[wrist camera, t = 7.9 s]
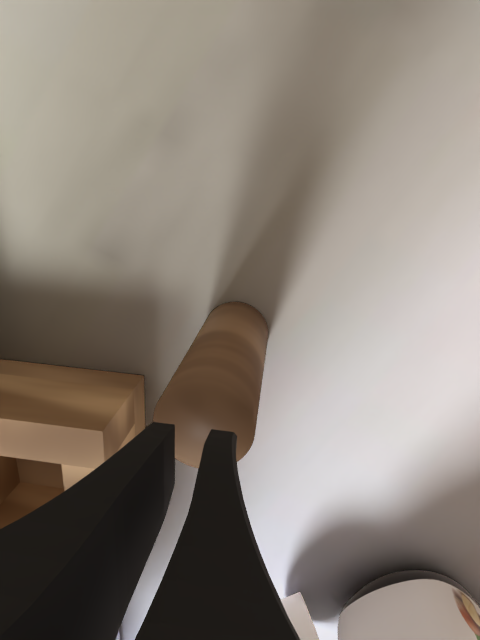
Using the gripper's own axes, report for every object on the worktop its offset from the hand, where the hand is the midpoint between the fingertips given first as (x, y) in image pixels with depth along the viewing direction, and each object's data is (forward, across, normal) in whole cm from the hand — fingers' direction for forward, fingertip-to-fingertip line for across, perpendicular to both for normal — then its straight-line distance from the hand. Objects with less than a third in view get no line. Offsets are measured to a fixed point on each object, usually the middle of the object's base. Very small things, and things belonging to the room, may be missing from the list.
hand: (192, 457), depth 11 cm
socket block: (+9, +9, +8) cm, 15 cm away
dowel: (+9, 0, 0) cm, 9 cm away
